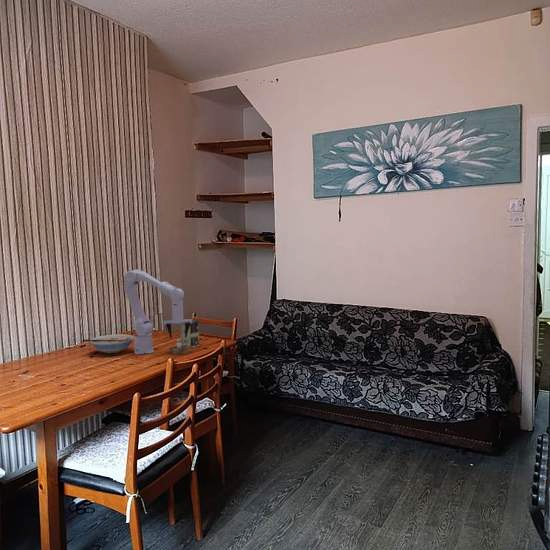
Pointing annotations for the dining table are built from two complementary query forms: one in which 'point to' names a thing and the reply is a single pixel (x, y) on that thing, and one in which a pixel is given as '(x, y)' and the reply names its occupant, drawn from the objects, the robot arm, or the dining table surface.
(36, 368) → the dining table surface
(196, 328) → the coffee can
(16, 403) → the dining table surface
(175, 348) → the square wooden frame
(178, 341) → the white banded cylinder
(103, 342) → the ramen bowl
